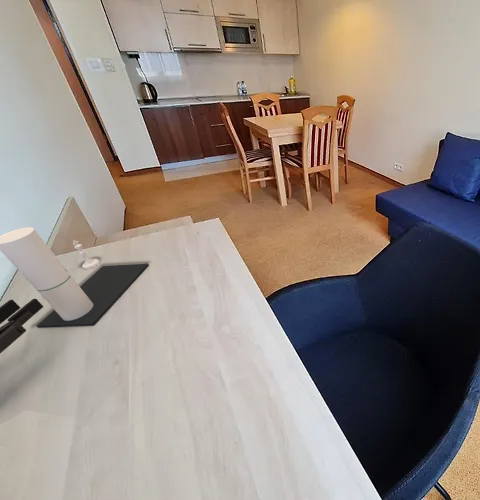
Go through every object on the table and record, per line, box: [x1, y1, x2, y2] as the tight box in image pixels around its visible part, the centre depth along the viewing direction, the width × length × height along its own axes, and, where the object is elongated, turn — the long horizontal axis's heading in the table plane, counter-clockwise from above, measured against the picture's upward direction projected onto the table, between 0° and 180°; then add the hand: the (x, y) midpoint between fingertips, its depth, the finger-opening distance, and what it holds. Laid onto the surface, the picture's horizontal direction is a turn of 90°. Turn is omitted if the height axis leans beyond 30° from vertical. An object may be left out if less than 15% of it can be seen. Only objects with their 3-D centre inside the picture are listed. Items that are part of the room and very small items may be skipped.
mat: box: [35, 263, 150, 329], centre depth 91 cm, size 16×26×1 cm, turn 179°
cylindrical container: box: [0, 226, 93, 321], centre depth 77 cm, size 7×7×25 cm
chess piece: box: [72, 240, 101, 270], centre depth 102 cm, size 5×5×10 cm
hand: (26, 303), depth 72 cm, fingers open, 5 cm apart
